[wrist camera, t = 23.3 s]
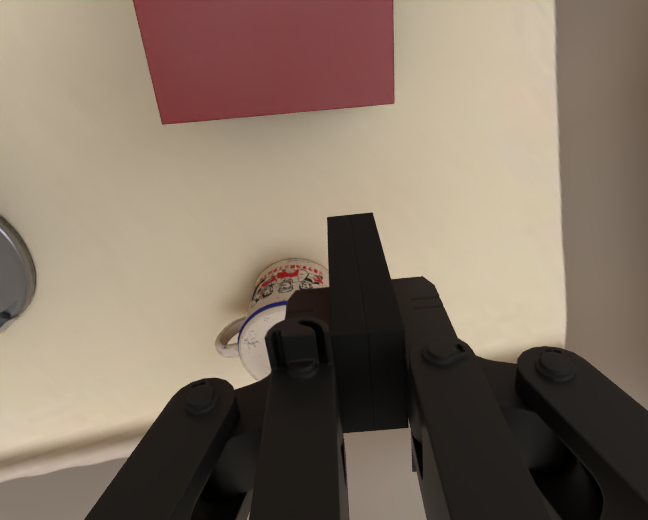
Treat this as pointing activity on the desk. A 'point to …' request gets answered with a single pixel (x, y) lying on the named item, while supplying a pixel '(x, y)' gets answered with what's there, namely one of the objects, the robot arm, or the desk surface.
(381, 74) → the red box lid
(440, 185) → the desk surface
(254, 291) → the teacup with lid
